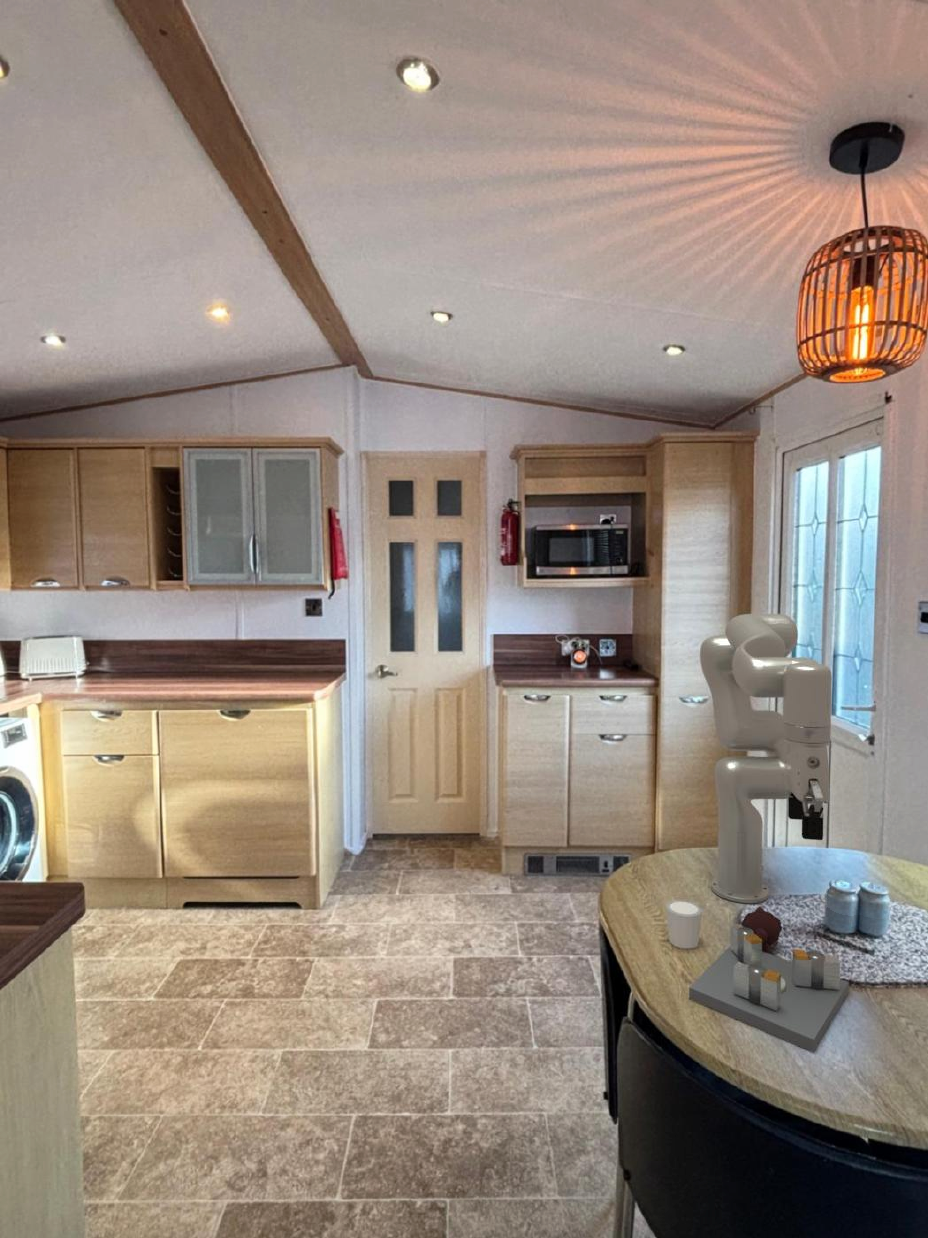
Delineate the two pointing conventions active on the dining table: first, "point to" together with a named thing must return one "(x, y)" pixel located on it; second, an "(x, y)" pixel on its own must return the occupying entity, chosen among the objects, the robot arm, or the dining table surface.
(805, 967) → the grey blocks with cylinder
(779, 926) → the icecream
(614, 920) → the dining table surface
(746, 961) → the grey upright block
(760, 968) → the grey blocks with cylinder
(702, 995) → the plate
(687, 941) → the white cylinder
